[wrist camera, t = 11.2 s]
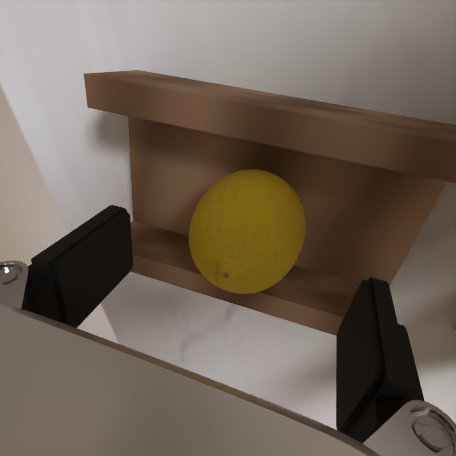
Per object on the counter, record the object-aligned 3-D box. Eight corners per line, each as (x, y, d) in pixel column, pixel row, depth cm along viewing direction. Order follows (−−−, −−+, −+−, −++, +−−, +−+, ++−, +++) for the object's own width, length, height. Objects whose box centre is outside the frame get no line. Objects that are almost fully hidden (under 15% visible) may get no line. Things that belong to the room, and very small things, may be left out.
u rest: (463, 127, 15) (512, 152, 11) (375, 295, 21) (385, 350, 17) (137, 70, 18) (83, 73, 14) (142, 230, 24) (106, 263, 20)
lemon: (317, 229, 18) (310, 328, 12) (234, 240, 20) (188, 328, 14) (299, 141, 16) (278, 199, 9) (208, 163, 18) (139, 223, 12)
